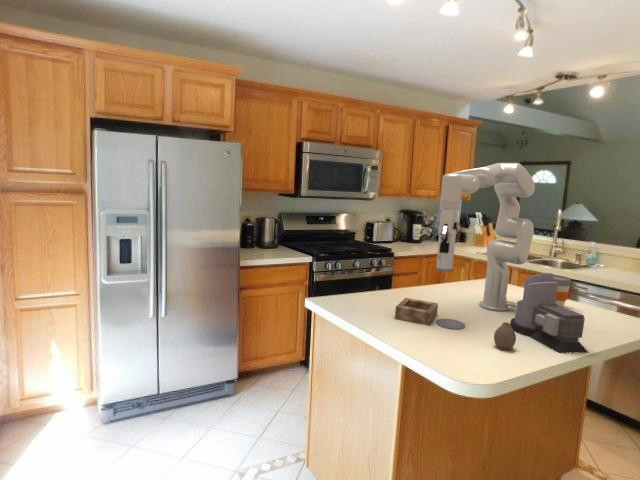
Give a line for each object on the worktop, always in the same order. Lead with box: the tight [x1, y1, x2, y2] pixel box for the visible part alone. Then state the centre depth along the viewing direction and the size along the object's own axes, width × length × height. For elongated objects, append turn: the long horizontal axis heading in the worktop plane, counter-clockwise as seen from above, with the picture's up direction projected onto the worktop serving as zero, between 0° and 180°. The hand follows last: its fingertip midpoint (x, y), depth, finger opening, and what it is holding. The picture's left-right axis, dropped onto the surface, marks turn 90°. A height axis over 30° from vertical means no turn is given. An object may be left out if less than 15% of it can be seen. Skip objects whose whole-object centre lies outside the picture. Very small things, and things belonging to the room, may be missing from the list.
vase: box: [493, 322, 517, 351], centre depth 142 cm, size 7×7×9 cm
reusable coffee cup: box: [553, 274, 572, 308], centre depth 195 cm, size 13×13×15 cm
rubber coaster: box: [435, 318, 466, 331], centre depth 164 cm, size 11×11×1 cm
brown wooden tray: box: [394, 297, 439, 326], centre depth 171 cm, size 14×16×5 cm
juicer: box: [510, 272, 588, 354], centre depth 155 cm, size 30×16×24 cm, turn 11°
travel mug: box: [435, 221, 457, 273], centre depth 162 cm, size 6×7×20 cm
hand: (445, 251), depth 162 cm, fingers closed on travel mug, 6 cm apart
